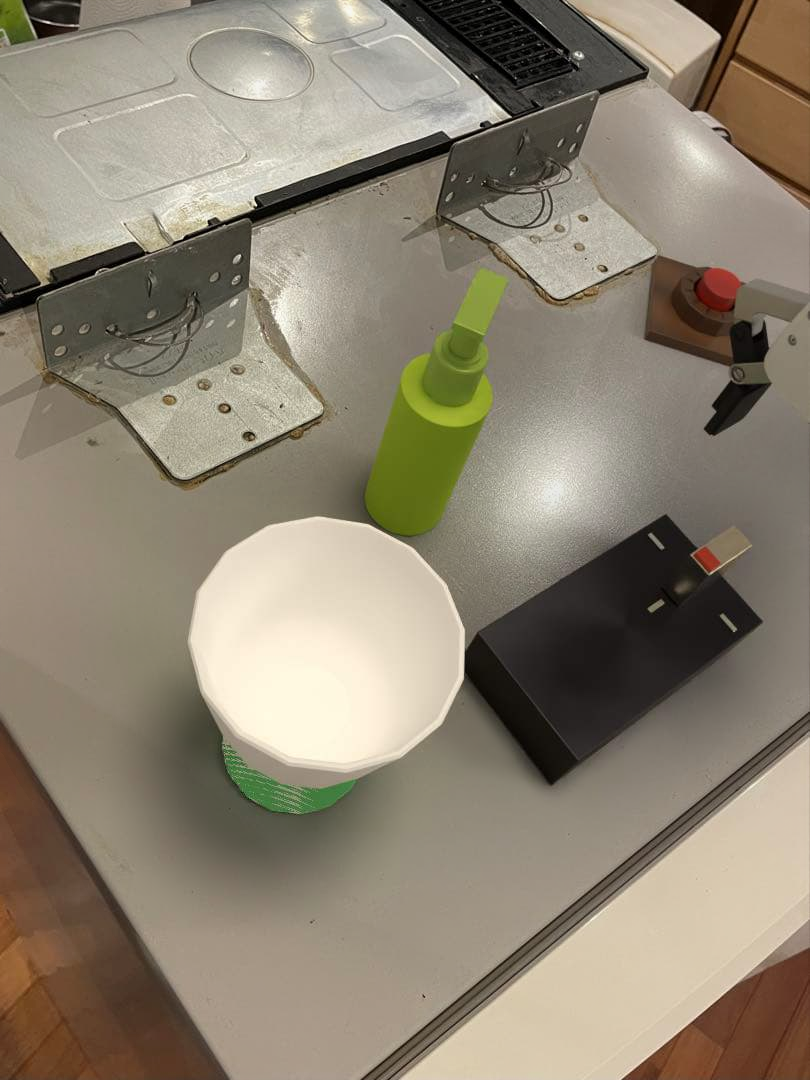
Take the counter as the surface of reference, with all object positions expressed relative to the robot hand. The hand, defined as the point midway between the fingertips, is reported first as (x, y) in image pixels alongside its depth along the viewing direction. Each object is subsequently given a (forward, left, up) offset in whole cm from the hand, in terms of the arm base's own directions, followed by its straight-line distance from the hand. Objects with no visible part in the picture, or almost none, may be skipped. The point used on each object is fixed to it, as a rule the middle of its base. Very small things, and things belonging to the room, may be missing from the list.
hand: (779, 484), depth 58 cm
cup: (+27, +7, -17) cm, 33 cm away
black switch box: (+5, +3, -17) cm, 18 cm away
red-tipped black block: (0, 0, -12) cm, 12 cm away
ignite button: (-13, -29, -15) cm, 35 cm away
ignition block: (-13, -29, -17) cm, 36 cm away
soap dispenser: (+17, -11, -17) cm, 26 cm away
